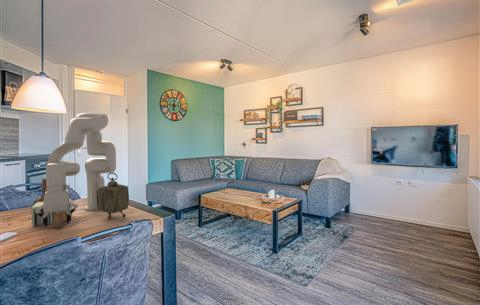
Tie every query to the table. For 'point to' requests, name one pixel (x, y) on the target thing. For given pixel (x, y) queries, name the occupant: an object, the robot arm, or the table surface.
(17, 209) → the table surface
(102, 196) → the tabletop clock
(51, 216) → the cubby shelf
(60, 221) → the corded block
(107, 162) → the robot arm
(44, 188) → the wooden block
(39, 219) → the plain block
